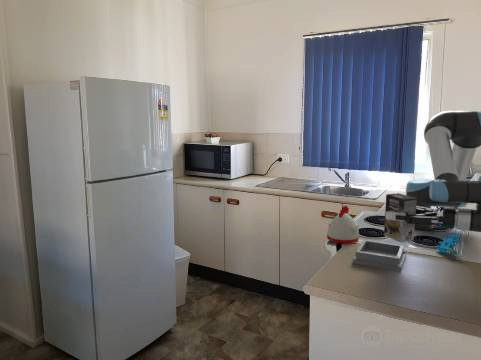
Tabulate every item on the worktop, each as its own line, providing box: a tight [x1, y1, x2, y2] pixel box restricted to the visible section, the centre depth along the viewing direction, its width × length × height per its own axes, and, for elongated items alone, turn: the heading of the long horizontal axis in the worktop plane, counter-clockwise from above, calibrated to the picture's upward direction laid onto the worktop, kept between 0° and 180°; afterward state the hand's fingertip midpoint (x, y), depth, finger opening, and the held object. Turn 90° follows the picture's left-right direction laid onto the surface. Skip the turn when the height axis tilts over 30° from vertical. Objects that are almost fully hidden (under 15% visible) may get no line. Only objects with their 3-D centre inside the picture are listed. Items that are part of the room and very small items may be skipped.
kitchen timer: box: [326, 205, 360, 245], centre depth 174 cm, size 14×14×15 cm
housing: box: [352, 239, 407, 272], centre depth 150 cm, size 17×17×4 cm
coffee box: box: [383, 192, 417, 243], centre depth 143 cm, size 9×6×16 cm
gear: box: [435, 234, 460, 258], centre depth 156 cm, size 11×6×10 cm
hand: (387, 211), depth 145 cm, fingers closed on coffee box, 10 cm apart
